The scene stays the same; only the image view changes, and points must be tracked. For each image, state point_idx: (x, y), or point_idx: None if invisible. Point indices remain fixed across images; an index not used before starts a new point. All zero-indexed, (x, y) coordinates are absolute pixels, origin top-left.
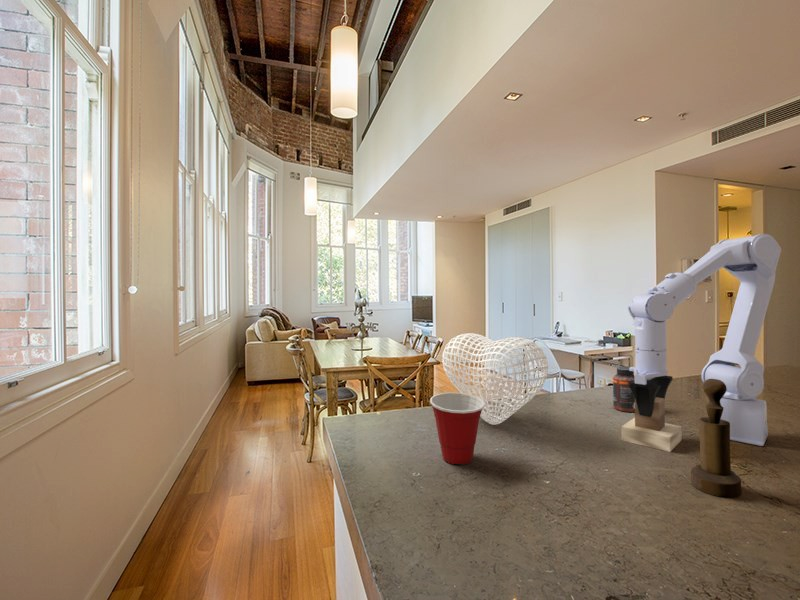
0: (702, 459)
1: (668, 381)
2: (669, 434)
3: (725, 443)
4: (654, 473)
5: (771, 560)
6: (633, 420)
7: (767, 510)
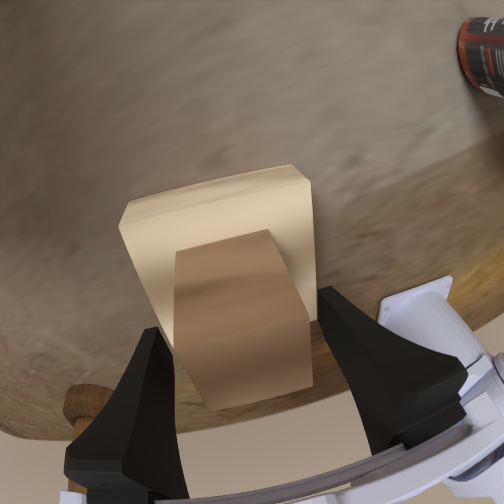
0: (73, 435)
1: (371, 447)
2: None
3: None
4: (40, 348)
5: (31, 434)
6: (251, 204)
7: None
